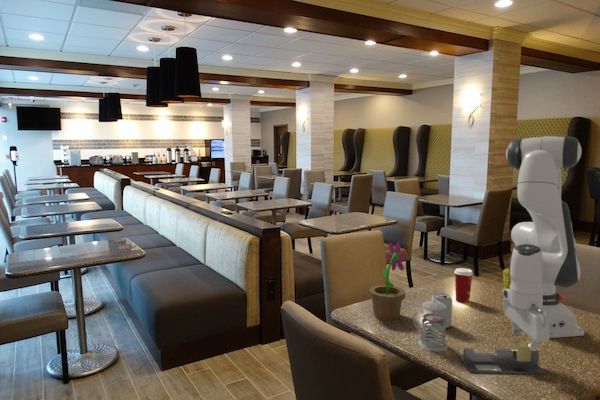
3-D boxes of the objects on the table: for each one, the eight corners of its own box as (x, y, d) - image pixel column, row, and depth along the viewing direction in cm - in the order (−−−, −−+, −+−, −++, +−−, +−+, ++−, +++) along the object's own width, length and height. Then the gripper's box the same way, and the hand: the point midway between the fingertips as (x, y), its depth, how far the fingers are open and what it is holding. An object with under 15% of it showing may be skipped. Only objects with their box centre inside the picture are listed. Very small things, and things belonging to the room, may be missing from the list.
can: (452, 330, 153) (453, 299, 151) (431, 328, 154) (432, 297, 153) (449, 322, 160) (450, 292, 159) (429, 320, 161) (430, 291, 160)
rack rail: (528, 357, 132) (529, 342, 132) (545, 374, 122) (546, 358, 122) (458, 356, 133) (459, 341, 133) (469, 372, 123) (470, 356, 123)
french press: (450, 352, 136) (453, 278, 133) (414, 349, 138) (416, 276, 135) (445, 339, 145) (448, 270, 143) (411, 336, 147) (413, 268, 145)
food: (528, 309, 177) (502, 306, 181) (528, 295, 187) (503, 292, 191) (529, 277, 172) (502, 275, 177) (528, 264, 182) (503, 263, 187)
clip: (523, 354, 129) (524, 340, 129) (530, 361, 125) (531, 347, 124) (510, 353, 130) (510, 340, 129) (516, 361, 125) (517, 347, 125)
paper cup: (474, 304, 179) (476, 272, 177) (456, 304, 179) (458, 272, 177) (467, 297, 187) (469, 267, 185) (450, 297, 187) (451, 267, 185)
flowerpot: (412, 318, 164) (414, 244, 160) (382, 325, 158) (384, 248, 154) (389, 306, 176) (391, 237, 173) (361, 312, 170) (362, 240, 167)
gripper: (556, 312, 115) (554, 359, 116) (519, 287, 135) (518, 327, 137) (533, 312, 115) (532, 359, 116) (499, 288, 135) (498, 328, 137)
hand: (524, 342), depth 127 cm, fingers open, 8 cm apart
